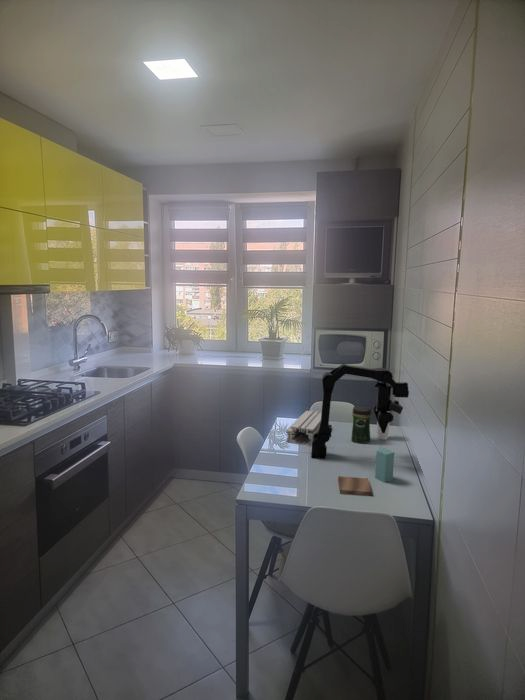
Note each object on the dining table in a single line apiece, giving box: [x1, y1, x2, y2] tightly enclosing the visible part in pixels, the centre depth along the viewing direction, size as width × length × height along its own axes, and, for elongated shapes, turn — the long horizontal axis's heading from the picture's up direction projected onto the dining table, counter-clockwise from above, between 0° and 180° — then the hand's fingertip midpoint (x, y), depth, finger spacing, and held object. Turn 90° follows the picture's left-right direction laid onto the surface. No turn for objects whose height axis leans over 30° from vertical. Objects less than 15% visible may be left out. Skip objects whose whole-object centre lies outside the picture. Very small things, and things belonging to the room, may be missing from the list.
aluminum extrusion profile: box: [285, 410, 322, 447], centre depth 229 cm, size 14×31×10 cm, turn 159°
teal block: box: [374, 448, 395, 483], centre depth 178 cm, size 5×5×12 cm
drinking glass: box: [376, 411, 391, 441], centre depth 226 cm, size 7×7×15 cm
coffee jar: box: [350, 405, 372, 444], centre depth 221 cm, size 10×8×19 cm
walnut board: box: [337, 475, 373, 497], centre depth 170 cm, size 12×12×2 cm
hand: (381, 429), depth 196 cm, fingers open, 9 cm apart
